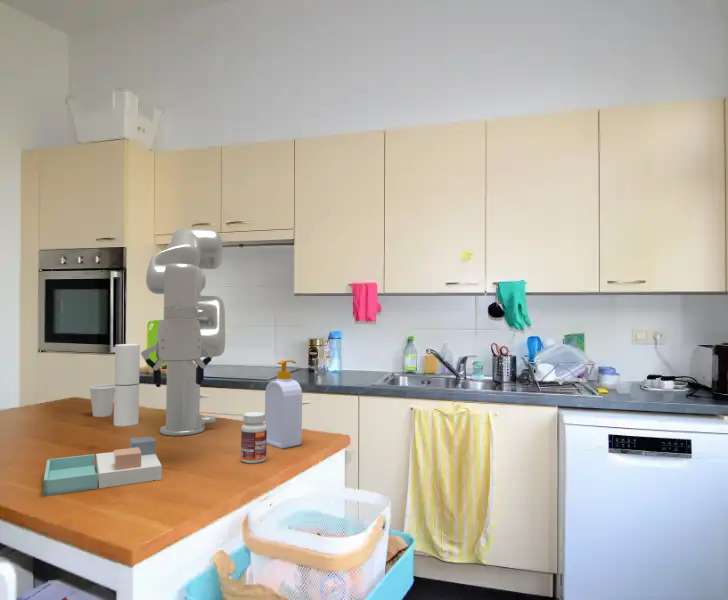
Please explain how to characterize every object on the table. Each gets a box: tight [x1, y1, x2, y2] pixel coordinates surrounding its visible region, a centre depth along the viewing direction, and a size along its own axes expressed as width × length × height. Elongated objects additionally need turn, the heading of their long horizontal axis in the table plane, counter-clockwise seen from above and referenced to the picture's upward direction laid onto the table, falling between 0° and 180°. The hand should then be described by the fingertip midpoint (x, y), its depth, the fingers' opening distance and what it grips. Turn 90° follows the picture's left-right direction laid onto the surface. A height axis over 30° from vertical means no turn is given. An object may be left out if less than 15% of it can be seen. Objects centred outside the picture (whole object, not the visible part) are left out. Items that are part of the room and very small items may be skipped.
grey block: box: [129, 435, 156, 456], centre depth 121 cm, size 5×5×3 cm
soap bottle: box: [264, 359, 303, 450], centre depth 142 cm, size 9×7×23 cm
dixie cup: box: [88, 383, 115, 418], centre depth 175 cm, size 8×8×10 cm
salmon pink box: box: [113, 447, 141, 470], centre depth 111 cm, size 5×5×3 cm
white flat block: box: [95, 451, 163, 489], centre depth 115 cm, size 12×16×3 cm
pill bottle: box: [240, 411, 267, 464], centre depth 126 cm, size 6×6×11 cm
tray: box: [42, 453, 98, 497], centre depth 110 cm, size 9×16×3 cm, turn 30°
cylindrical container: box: [113, 343, 141, 427], centre depth 163 cm, size 7×7×25 cm
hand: (178, 385), depth 125 cm, fingers open, 9 cm apart
